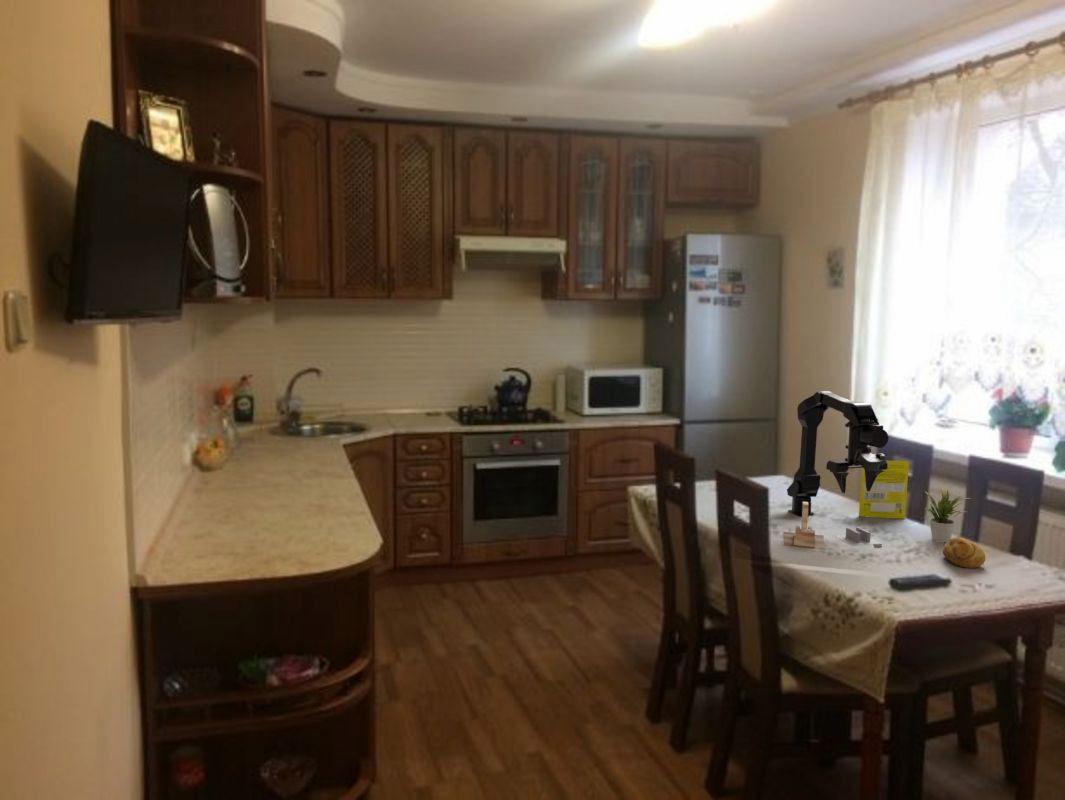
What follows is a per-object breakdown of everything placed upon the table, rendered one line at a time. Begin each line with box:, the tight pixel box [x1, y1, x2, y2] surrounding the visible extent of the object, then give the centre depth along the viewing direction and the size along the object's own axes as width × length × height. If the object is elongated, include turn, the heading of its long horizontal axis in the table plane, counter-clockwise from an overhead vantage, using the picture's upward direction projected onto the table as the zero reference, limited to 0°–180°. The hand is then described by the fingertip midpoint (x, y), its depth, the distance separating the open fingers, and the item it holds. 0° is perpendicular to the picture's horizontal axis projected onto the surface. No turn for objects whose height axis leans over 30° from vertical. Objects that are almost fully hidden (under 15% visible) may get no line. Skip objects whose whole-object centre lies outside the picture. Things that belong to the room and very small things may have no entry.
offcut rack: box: [782, 525, 827, 551], centre depth 256 cm, size 15×12×4 cm
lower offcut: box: [794, 534, 816, 547], centre depth 252 cm, size 4×6×2 cm, turn 74°
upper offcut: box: [794, 528, 816, 540], centre depth 251 cm, size 4×5×2 cm, turn 74°
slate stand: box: [834, 526, 883, 548], centre depth 257 cm, size 10×10×4 cm
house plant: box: [923, 489, 973, 543], centre depth 259 cm, size 14×14×16 cm
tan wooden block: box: [800, 502, 809, 529], centre depth 257 cm, size 4×2×11 cm, turn 164°
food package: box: [858, 460, 910, 519], centre depth 285 cm, size 15×1×20 cm, turn 84°
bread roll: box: [941, 536, 986, 569], centre depth 239 cm, size 13×10×8 cm
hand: (855, 492), depth 262 cm, fingers open, 9 cm apart
